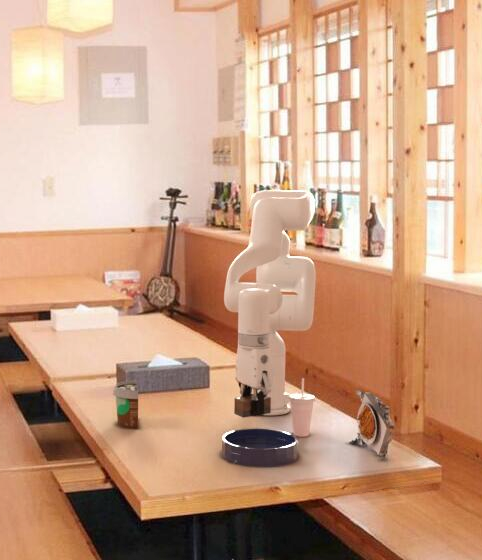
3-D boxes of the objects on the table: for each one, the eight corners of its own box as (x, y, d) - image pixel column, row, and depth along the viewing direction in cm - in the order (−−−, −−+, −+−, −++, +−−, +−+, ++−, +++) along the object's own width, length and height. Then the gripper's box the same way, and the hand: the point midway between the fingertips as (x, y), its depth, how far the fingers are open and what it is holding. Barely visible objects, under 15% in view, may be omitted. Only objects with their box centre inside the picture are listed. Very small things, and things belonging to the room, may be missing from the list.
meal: (346, 443, 252) (348, 390, 250) (362, 442, 253) (364, 389, 252) (377, 461, 238) (378, 405, 236) (393, 459, 239) (395, 403, 238)
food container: (112, 417, 273) (112, 380, 272) (136, 417, 274) (136, 380, 273) (113, 430, 261) (113, 391, 260) (138, 430, 262) (138, 390, 260)
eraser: (261, 409, 261) (261, 393, 260) (270, 413, 257) (270, 397, 257) (234, 413, 257) (234, 397, 256) (243, 417, 253) (243, 401, 253)
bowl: (269, 441, 253) (269, 425, 253) (312, 460, 238) (312, 442, 238) (208, 450, 245) (208, 434, 244) (248, 470, 230) (249, 453, 229)
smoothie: (316, 432, 261) (318, 377, 260) (311, 439, 255) (312, 382, 254) (291, 430, 263) (292, 375, 262) (285, 436, 257) (286, 380, 256)
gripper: (286, 344, 249) (284, 419, 252) (247, 331, 263) (246, 402, 266) (259, 348, 245) (258, 423, 248) (222, 334, 259) (221, 406, 262)
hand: (252, 412), depth 257 cm, fingers closed on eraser, 4 cm apart
